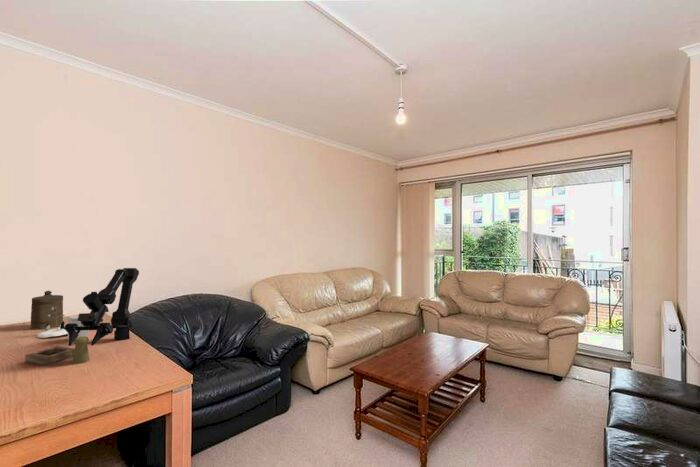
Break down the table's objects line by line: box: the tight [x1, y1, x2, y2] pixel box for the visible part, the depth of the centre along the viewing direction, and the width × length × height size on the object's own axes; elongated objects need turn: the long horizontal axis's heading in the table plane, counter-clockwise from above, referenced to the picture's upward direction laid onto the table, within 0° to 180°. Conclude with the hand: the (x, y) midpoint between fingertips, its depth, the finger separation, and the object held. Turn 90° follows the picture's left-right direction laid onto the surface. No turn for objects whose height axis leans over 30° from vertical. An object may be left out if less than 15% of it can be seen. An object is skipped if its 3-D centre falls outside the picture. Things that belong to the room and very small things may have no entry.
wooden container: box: [30, 290, 64, 330], centre depth 208 cm, size 15×15×22 cm
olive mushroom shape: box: [72, 336, 90, 365], centre depth 151 cm, size 6×6×11 cm
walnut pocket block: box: [24, 345, 75, 367], centre depth 153 cm, size 13×13×4 cm
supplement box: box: [67, 314, 89, 341], centre depth 183 cm, size 7×7×13 cm
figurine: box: [36, 307, 68, 339], centre depth 193 cm, size 20×18×16 cm
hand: (80, 345), depth 151 cm, fingers open, 9 cm apart
